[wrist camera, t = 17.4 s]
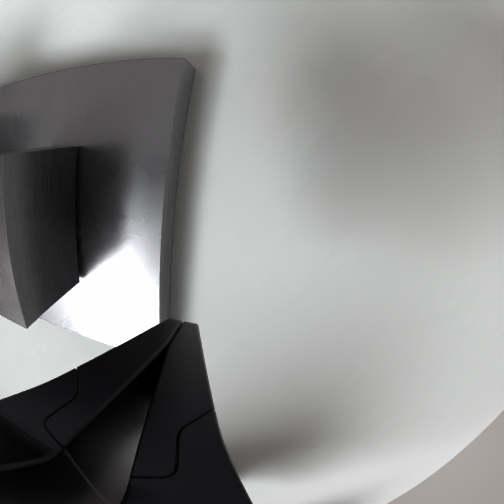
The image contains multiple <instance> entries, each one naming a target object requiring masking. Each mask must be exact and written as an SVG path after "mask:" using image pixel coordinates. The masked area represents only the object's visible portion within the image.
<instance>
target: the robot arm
mask: <svg viewBox="0 0 504 504" xmlns="http://www.w3.org/2000/svg"><path fill="white" fill-rule="evenodd" d="M0 504H253V503H252V501H251V499H250V498H249V496H248V494H247V492H246V490H245V488H244V486H243V484H242V482H241V480H240V478H239V476H238V474H237V472H236V470H235V467H234V465H233V463H232V461H231V459H230V456H229V454H228V451H227V449H226V446H225V444H224V441H223V438H222V435H221V431H220V428H219V424H218V420H217V416H216V412H215V408H214V403H213V399H212V394H211V389H210V385H209V380H208V375H207V370H206V365H205V360H204V354H203V349H202V343H201V338H200V332H199V326H198V325H197V324H195V323H190V322H182V321H181V320H177V319H172V318H168V319H166V320H164V321H162V322H161V323H159V324H157V325H155V326H153V327H151V328H150V329H148V330H146V331H144V332H142V333H140V334H139V335H137V336H135V337H133V338H131V339H129V340H127V341H126V342H124V343H122V344H120V345H118V346H116V347H114V348H113V349H111V350H109V351H107V352H105V353H103V354H101V355H99V356H97V357H96V358H94V359H92V360H90V361H88V362H86V363H84V364H82V365H80V366H79V367H77V369H73V370H71V371H69V372H67V373H65V374H63V375H61V376H59V377H57V378H55V379H53V380H50V381H48V382H46V383H44V384H41V385H39V386H36V387H34V388H31V389H29V390H26V391H23V392H21V393H18V394H15V395H12V396H9V397H7V398H4V399H1V400H0Z"/></svg>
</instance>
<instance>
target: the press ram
mask: <svg viewBox="0 0 504 504" xmlns="http://www.w3.org/2000/svg"><path fill="white" fill-rule="evenodd" d="M76 159H77V147H41V148H33V149H25V150H18V151H11V152H5V153H0V315H2V316H3V317H5V318H7V319H9V320H11V321H13V322H14V323H16V324H18V325H20V326H22V327H24V328H26V329H27V328H28V327H29V326H30V325H31V324H32V323H34V322H35V321H36V320H37V319H38V318H39V317H40V316H41V315H42V314H43V313H45V312H46V311H47V310H48V309H49V308H50V307H51V306H52V305H54V304H55V303H56V302H57V301H58V300H59V299H60V298H62V297H63V296H64V295H65V294H66V293H67V292H69V291H70V290H71V289H72V288H73V287H75V286H76V285H77V284H78V283H79V282H80V279H79V270H78V259H77V246H76V226H75V178H76Z"/></svg>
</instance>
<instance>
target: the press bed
mask: <svg viewBox="0 0 504 504" xmlns="http://www.w3.org/2000/svg"><path fill="white" fill-rule="evenodd" d="M194 72H195V68H194V67H193V66H192V65H191V64H190V63H189V62H188V61H187V60H186V59H185V58H160V59H140V60H127V61H117V62H109V63H101V64H94V65H88V66H82V67H76V68H71V69H66V70H61V71H57V72H53V73H48V74H44V75H40V76H37V77H33V78H30V79H26V80H23V81H20V82H16V83H13V84H10V85H7V86H4V87H2V88H0V153H5V152H11V151H18V150H25V149H33V148H41V147H77V159H76V178H75V226H76V246H77V259H78V270H79V279H80V282H79V283H78V284H77V285H76V286H75V287H73V288H72V289H71V290H70V291H69V292H67V293H66V294H65V295H64V296H63V297H62V298H60V299H59V300H58V301H57V302H56V303H55V304H54V305H52V306H51V307H50V308H49V309H48V310H47V311H46V312H45V313H43V314H42V315H41V316H40V317H39V318H40V319H43V320H45V321H47V322H50V323H52V324H54V325H57V326H59V327H62V328H64V329H67V330H69V331H72V332H75V333H77V334H80V335H83V336H85V337H88V338H91V339H94V340H97V341H100V342H103V343H106V344H109V345H112V346H115V347H116V346H118V345H120V344H122V343H124V342H126V341H127V340H129V339H131V338H133V337H135V336H137V335H139V334H140V333H142V332H144V331H146V330H148V329H150V328H151V327H153V326H155V325H157V324H159V323H161V322H162V321H164V320H166V319H168V318H169V315H170V277H171V256H172V239H173V225H174V213H175V202H176V192H177V182H178V174H179V165H180V157H181V150H182V142H183V135H184V129H185V122H186V116H187V110H188V104H189V98H190V93H191V87H192V82H193V77H194Z"/></svg>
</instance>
